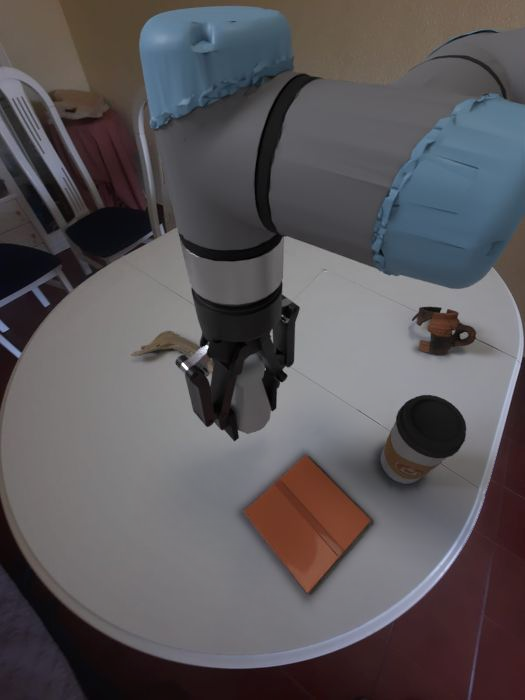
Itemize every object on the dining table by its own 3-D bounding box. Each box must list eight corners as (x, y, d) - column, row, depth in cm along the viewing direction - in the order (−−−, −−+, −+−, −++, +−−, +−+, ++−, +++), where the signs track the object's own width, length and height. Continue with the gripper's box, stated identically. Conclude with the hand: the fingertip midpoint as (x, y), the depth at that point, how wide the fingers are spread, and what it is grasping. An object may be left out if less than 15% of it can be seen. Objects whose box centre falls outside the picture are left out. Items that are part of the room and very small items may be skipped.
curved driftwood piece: (153, 331, 74) (151, 324, 73) (242, 349, 71) (242, 342, 70) (132, 360, 68) (129, 353, 67) (228, 382, 65) (227, 375, 63)
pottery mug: (402, 348, 70) (410, 309, 67) (413, 338, 77) (421, 302, 75) (468, 363, 64) (479, 320, 61) (474, 350, 71) (484, 312, 68)
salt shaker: (255, 448, 43) (250, 393, 33) (219, 426, 45) (205, 368, 35) (278, 414, 46) (281, 354, 36) (244, 394, 48) (238, 333, 38)
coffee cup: (369, 479, 53) (396, 437, 41) (378, 433, 58) (404, 383, 46) (425, 500, 51) (471, 461, 39) (429, 450, 56) (471, 402, 44)
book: (370, 521, 49) (371, 519, 48) (307, 594, 44) (307, 593, 43) (305, 456, 55) (305, 453, 55) (243, 512, 50) (243, 510, 49)
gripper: (288, 219, 33) (281, 363, 51) (107, 308, 25) (174, 441, 43) (347, 252, 29) (318, 395, 47) (157, 368, 22) (208, 486, 40)
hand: (249, 417), depth 45 cm, fingers closed on salt shaker, 6 cm apart
